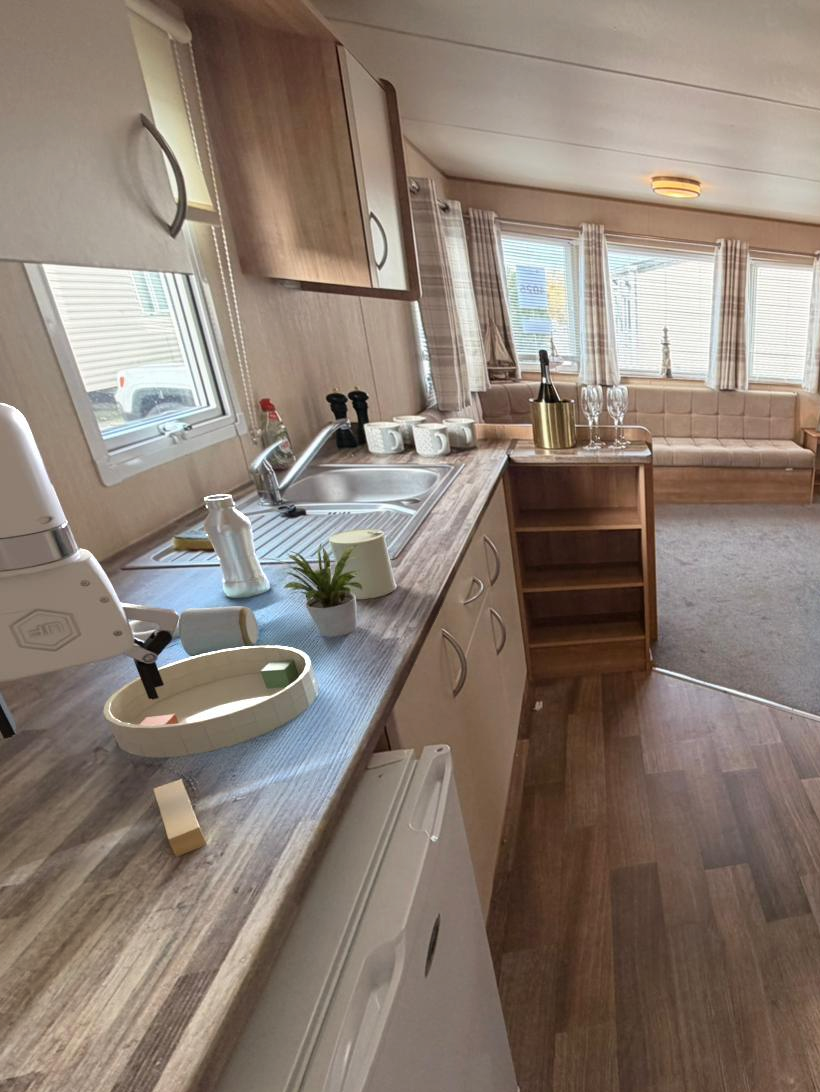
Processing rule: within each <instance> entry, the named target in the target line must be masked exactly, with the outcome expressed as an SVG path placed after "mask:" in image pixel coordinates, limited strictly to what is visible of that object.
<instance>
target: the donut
mask: <svg viewBox="0 0 820 1092" xmlns="http://www.w3.org/2000/svg"><path fill="white" fill-rule="evenodd" d="M178 616H179V618H180V615H178ZM129 624H130V626H131V629H132V632H133V636H134V637H136V638H138V639H140V640H143V641H146V640H147V638H148V637H149V636H150V635H151V634H152V633H153V632H154V631H155V629H156V627H157V623H155V622H147V621H139V620H131V621H129ZM178 637H180V635H179V620H178V623H177V625H176V628H175V631H174V632H173V635H172V640H173V639H177V638H178ZM178 644H181V641H178V642H177V643H174V644H172V645H170V646H166V649H168V648H171V647H174V646H176V645H178Z"/></svg>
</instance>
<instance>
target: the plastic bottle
mask: <svg viewBox="0 0 820 1092" xmlns="http://www.w3.org/2000/svg"><path fill="white" fill-rule="evenodd" d="M203 499H204V503H205V508H206V509H207V510H209V513H208V514H207V516H206V518H205V520H204V522H203V530H204V532H205V535H206V537H207V539H208V540H209V542H210V544H211V545H212V547H213V550H214V552H215V555H216V557H217V561H218V562H219V567H220V571H221V576H222V588H223V592H224V594H225V595H226V597H227V598H232V599H240V598H241V599H242V598H248V597H249V598H250V597H254V596H258V595H262V594H264V593H266V592H268V591H269V590H270V588H271V586H270V584H271V583H270V581H269V579H268V577H267V576H266V574H265V572H264V571H263V568H262V566H261V563H260V561H259V558H258V556H257V552H256V548H255V544H254V543H255V542H254V535H253V525H252V522H251V521H250V520H249V518H248V517H247V516H246V515H244V514H243V512H241V511H239V510H237V509H236V508H235V507H236V503H235V501H234V499H233V496H232V495H231V494H215V495H209V496H206V497H204V498H203Z"/></svg>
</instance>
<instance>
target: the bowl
mask: <svg viewBox="0 0 820 1092" xmlns="http://www.w3.org/2000/svg"><path fill="white" fill-rule="evenodd" d="M282 660H294V662H295V665H296V668H297V671H298V674H299V677H298V678H297V680H295V681H294V682H293V683H291V684H290V685H289V686H287V687H282V688H269V689H267V688H266V685H265V682H264V679H263V676H262V673H261V670H262V669H263V668H264V667H266V666H267V665H268V664H269V663H270V662H271V661H282ZM157 668H158V670H159V673H160V676H161V678H162V681H163V684H164V685H163V686H159V687H156V688H155V689H156V692H157V695H158V697H159V698H157V699H153V700H152V699H149V698H148V696H147V693H146V690H145V688H144V685H143V683H142V680H141V678H140V676H139V677H137V678H135V679H133V680H131V681H130V682H128V683H126V684H124V685H123V686H122V687H120V688H119V689H117V690H116V691H115V692H114V693H113V694H111V696H110V697H109V698H108V699H107V700H106V702H104V705H103V710H102V715H103V716H104V717H105V721H106V722H107V724H108V727H109V729H110V731H111V734H112V735H113V737H114V739H115V741H116V743H117V745H118V747H119V749H121V750H122V751H124V752H126V753H127V754H130V755H134V756H137V757H143V758H153V759H154V758H157V759H158V758H159V759H162V758H178V757H187V756H194V755H199V754H205V753H209V752H214V751H218V750H222V749H225V748H229V747H233V746H235V745H238V744H242V743H245V742H249V741H250V740H253V739H256V738H258V737H260V736H264V735H265V734H268V733H270V732H272V731H274V730H276V729H278V728H280V727H282V726H284V725H286V724H288V723H289V722H291V721H292V720H294V719H295V718H297V717H298V716H300V715H301V714H302V713H304V712H305V711H306V710H307V709H308V708H309V707H310V706H311V705H312V704H313V703H314V701H316V698H317V697H318V695H319V690H320V687H319V684H318V681H317V677H316V674H315V669H314V668H313V664H312V661H311V657H310V655H308V654H306V652H304V651H302V650H300V649H297V648H295V647H289V646H284V645H254V646H248V647H239V648H232V649H225V650H220V651H215V652H211V653H206V654H202V655H198V656H195V657H192V656H190V657H188V658H184V659H180V660H178V661H175V662H172V663H169V664H167V665H164V666H160V667H157ZM172 714H175V715H176V717H177V720H178V722H179V723H178V724H166V725H139V724H140V723H141V722H142V721H143V720H144V719H145V718H146V717H154V716H163V715H172Z"/></svg>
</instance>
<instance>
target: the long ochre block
mask: <svg viewBox="0 0 820 1092" xmlns="http://www.w3.org/2000/svg"><path fill="white" fill-rule="evenodd" d="M152 790H153V793H154V797H155V800H156V803H157V807H158V810H159V813H160V817H161V820H162V824H163V827H164V829H165V833H166V837H167V840H168V842H169V844H170V846H171V848H172V851H173V854H174V855H175V857H176V858H178V857H181V856H183V855H185V854H188V853H191V852H193V851H195V850H198V849H200V848H202V847H205V846H207V844H208V843H207V841H206V838H205V835H204V833H203V830H202V828H201V824H200V822H199V819H198V816H197V814H196V810H195V808H194V805H193V802H192V801H191V798H190V795H189V793H188V790H187V787H186V785H185V783H184V780H183V779H182V778H179V779H177V780H174V781H171V782H168V783H166V784H162V785H160V786H156V787H154V788H152Z"/></svg>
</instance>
